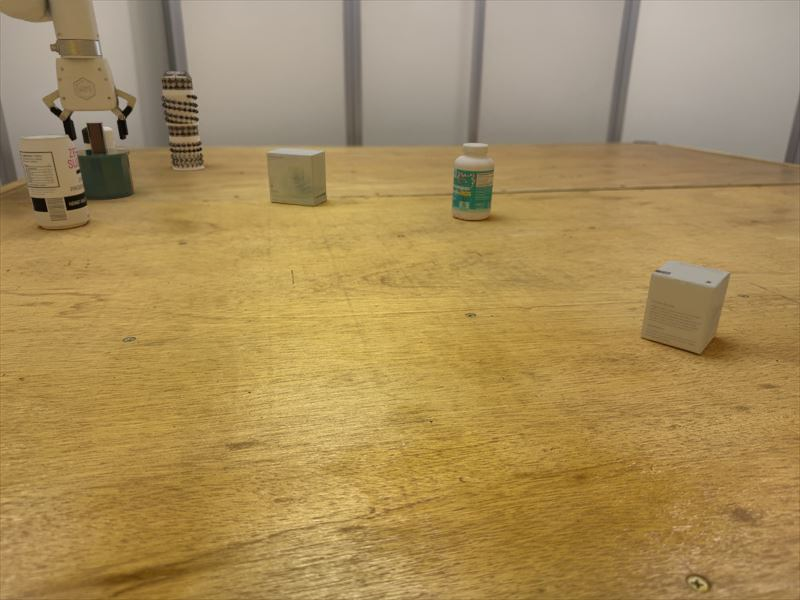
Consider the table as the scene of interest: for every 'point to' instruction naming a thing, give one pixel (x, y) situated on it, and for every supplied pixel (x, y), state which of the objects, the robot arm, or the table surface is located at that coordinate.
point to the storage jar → (106, 177)
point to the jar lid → (99, 144)
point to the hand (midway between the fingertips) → (98, 139)
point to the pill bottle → (473, 183)
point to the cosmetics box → (297, 176)
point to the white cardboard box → (684, 305)
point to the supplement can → (54, 180)
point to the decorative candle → (182, 120)
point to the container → (108, 137)
